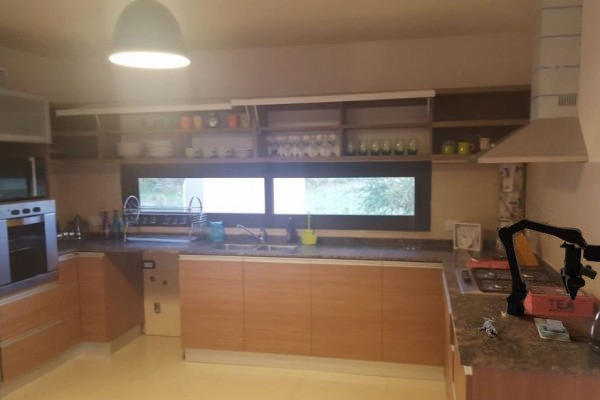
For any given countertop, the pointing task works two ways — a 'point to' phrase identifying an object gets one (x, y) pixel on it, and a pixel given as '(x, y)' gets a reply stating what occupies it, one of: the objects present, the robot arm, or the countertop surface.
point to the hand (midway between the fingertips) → (570, 296)
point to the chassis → (550, 335)
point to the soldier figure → (489, 326)
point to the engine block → (554, 326)
